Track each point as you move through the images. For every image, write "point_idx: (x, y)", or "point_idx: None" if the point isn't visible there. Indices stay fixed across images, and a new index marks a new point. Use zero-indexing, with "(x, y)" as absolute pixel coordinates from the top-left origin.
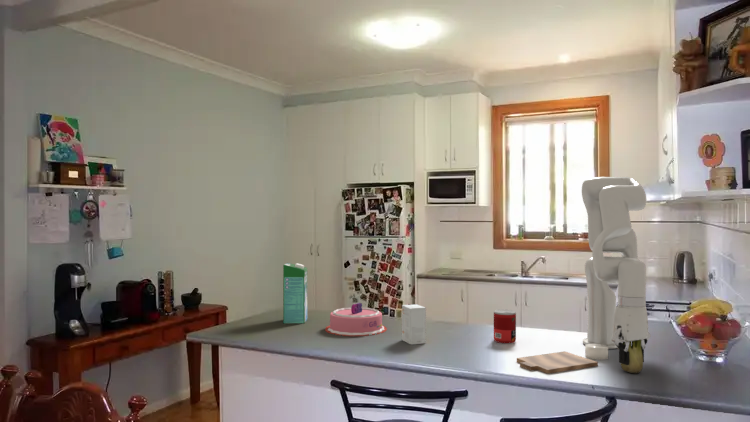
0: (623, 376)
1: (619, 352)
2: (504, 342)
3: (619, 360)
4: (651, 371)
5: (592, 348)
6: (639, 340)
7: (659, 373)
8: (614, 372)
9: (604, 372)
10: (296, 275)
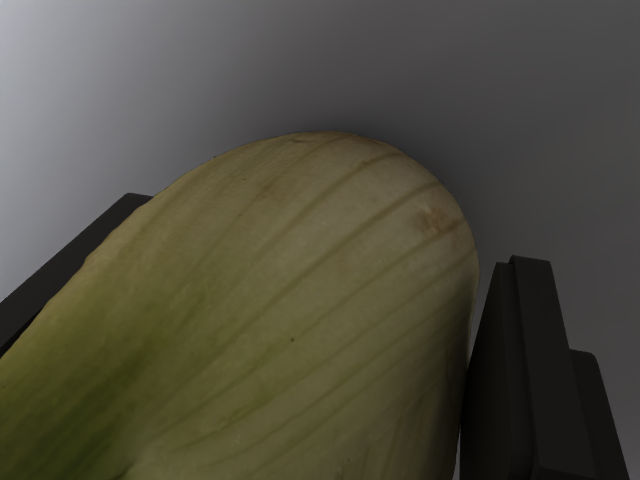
0: None
1: (16, 299)
2: None
3: (116, 210)
4: (632, 342)
5: None
6: None
7: (615, 423)
8: (136, 100)
9: (5, 24)
10: None
